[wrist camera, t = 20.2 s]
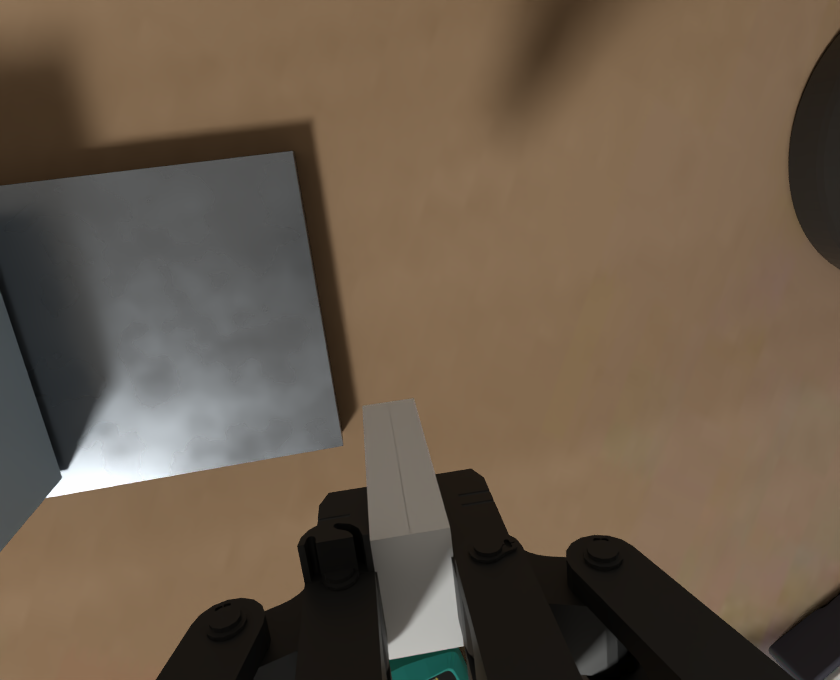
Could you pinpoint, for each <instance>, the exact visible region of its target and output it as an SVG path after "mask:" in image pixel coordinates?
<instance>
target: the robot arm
mask: <svg viewBox="0 0 840 680" xmlns="http://www.w3.org/2000/svg"><path fill="white" fill-rule="evenodd" d="M789 183H790V191H791V197H792V201H793V205H794V209H795V212H796V215H797V218H798V220H799V223H800V225H801V227H802V229H803V231H804V233H805V235H806V236H807V238H808V239H809V241H810V242H811V244H812V245H813V246H814V248H815V249H816V250H817V251H818V252H819V253H820V254H821V255H822V256H823V257H824V258H825V259H826V260H827V261H828V262H830V263H831V264H832V265H834V266H835V267H837V268H838V269H840V34H839V35H838V36H837V37H836V39H835V40H834V41H833V42H832V44H831V45H830V47H829V48H828V49H827V51H826V52H825V54H824V55H823V57H822V58H821V60H820V61H819V63H818V65H817V67H816V68H815V70H814V72H813V74H812V76H811V78H810V80H809V82H808V84H807V86H806V89H805V91H804V93H803V96H802V98H801V101H800V104H799V107H798V110H797V114H796V117H795V121H794V125H793V130H792V135H791V141H790V150H789ZM363 424H364V443H365V461H366V479H367V487H363V488H357V489H350V490H344V491H338V492H332V493H328V495H327V496H326V497H325V499H324V500H323V501H322V503H321V504H320V505H319V513H318V524H317V526H315V527H314V528H312V529H310V530H309V531H307V532H306V533H305V534H304V535H303V536H302V537H301V539H300V541H299V543H298V546H297V547H298V552H299V557H300V562H301V567H302V572H303V577H304V582H305V587H304V590H303V591H302V592H301V593H300V594H298V595H297V596H295V597H294V598H293V599H291V600H289V601H287V602H285V603H283V604H281V605H279V606H276V607H274V608H271V609H269V610H267V611H264V609H263V606H262V605H261V604H260V603H258V602H257V601H255V600H253V599H246V598H237V599H231V600H226V601H224V602H221V603H219V604H216V605H214V606H212V607H211V608H209V609H208V610H206V611H205V612H203V613H202V614H201V615H200V616H199V617H198V618H197V619H196V620H195V621H194V622H193V624H192V625H191V626H190V628H189V629H188V631H187V632H186V634H185V636H184V637H183V639H182V640H181V642H180V643H179V645H178V646H177V648H176V649H175V651H174V652H173V654H172V656H171V657H170V659H169V660H168V662H167V663H166V665H165V666H164V668H163V669H162V671H161V673H160V674H159V676H158V677H157V679H156V680H392V675H391V669H390V663H389V660H391V659H397V658H402V657H408V656H413V655H418V654H424V653H429V652H435V651H440V650H446V649H451V648H457V647H462V646H464V644H465V652H466V661H467V669H468V678H469V680H796V679H794V678H793V677H792V676H791V675H790V674H788V673H787V672H786V671H785V670H783V669H782V668H781V667H780V666H779V665H777V664H776V663H775V662H774V661H772V660H771V659H770V658H769V657H768V656H766V655H765V654H764V653H763V652H761V651H760V650H759V649H758V648H757V647H755V646H754V645H753V644H752V643H750V642H749V641H748V640H747V639H746V638H744V637H743V636H742V635H741V634H740V633H738V632H737V631H736V630H735V629H733V628H732V627H731V626H730V625H729V624H727V623H726V622H725V621H724V620H722V619H721V618H720V617H719V616H718V615H716V614H715V613H714V612H713V611H711V610H710V609H709V608H708V607H707V606H705V605H704V604H703V603H702V602H700V601H699V600H698V599H697V598H696V597H694V596H693V595H692V594H691V593H689V592H688V591H687V590H686V589H685V588H683V587H682V586H681V585H680V584H678V583H677V582H676V581H675V580H674V579H672V578H671V577H670V576H669V575H668V574H666V573H665V572H664V571H663V570H661V569H660V568H659V567H658V566H657V565H655V564H654V563H653V562H652V561H650V560H649V559H648V558H647V557H646V556H644V555H643V554H642V553H641V552H639V551H638V550H637V549H636V548H635V547H633V546H632V545H630V544H628V543H627V542H625V541H623V540H622V539H618V538H615V537H611V536H603V535H592V536H587V537H582V538H580V539H578V540H576V541H575V542H573V543H571V545H570V546H569V548H568V549H567V550H566V557H551V556H542V555H536V554H533V553H529V552H527V551H525V550H524V549H523V547H522V545H521V544H520V543H519V542H518V540H517V539H516V538H514V537H512V536H510V535H509V534H508V532H507V529H506V527H505V525H504V523H503V520H502V518H501V516H500V513H499V511H498V509H497V507H496V504H495V502H494V501H493V497H492V495H491V493H490V492H489V488H488V486H487V484H486V481H485V479H484V477H482V476H481V475H479V474H478V473H477V472H475V471H474V470H472V469H466V470H460V471H453V472H447V473H441V474H435V472H434V469H433V465H432V461H431V458H430V454H429V451H428V447H427V444H426V440H425V437H424V433H423V429H422V426H421V422H420V419H419V415H418V412H417V408H416V404H415V401H414V398H412V399H406V400H399V401H392V402H386V403H379V404H372V405H365V406H363ZM463 640H464V644H463Z"/></svg>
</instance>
